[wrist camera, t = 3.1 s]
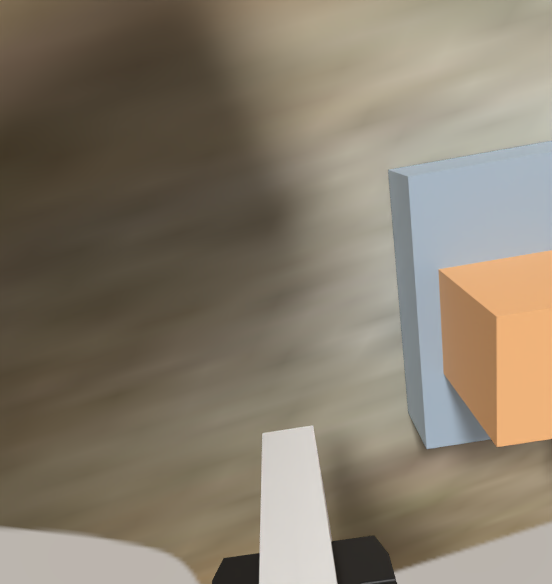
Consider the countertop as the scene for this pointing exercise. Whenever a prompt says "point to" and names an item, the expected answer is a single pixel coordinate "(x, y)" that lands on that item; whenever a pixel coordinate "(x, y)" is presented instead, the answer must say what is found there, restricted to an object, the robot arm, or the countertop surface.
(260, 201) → the countertop surface
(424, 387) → the tunnel deck
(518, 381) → the block
